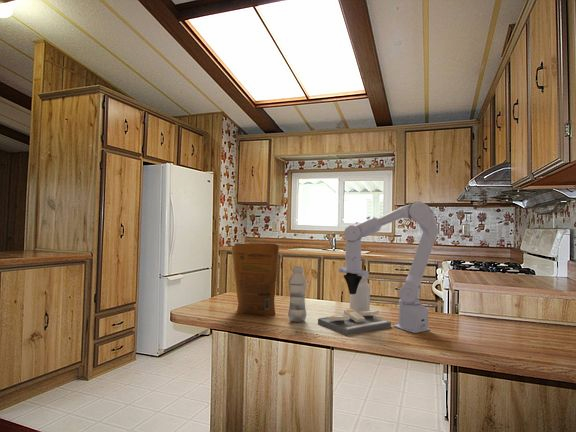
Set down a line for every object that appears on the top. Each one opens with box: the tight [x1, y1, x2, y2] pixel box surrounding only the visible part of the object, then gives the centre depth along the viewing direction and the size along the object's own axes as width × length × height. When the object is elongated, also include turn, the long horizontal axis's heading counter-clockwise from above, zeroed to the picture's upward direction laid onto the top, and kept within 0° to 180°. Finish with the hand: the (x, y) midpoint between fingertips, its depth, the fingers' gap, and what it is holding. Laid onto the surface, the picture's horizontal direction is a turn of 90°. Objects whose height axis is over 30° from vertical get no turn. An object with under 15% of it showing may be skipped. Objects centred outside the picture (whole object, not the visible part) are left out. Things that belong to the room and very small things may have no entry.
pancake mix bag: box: [231, 242, 280, 316], centre depth 147 cm, size 7×19×28 cm, turn 73°
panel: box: [317, 312, 392, 336], centre depth 132 cm, size 16×20×3 cm
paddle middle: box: [343, 308, 365, 323], centre depth 132 cm, size 7×4×1 cm, turn 32°
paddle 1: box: [328, 314, 350, 320], centre depth 128 cm, size 7×4×1 cm, turn 32°
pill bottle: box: [349, 276, 371, 312], centre depth 151 cm, size 8×8×15 cm
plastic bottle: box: [287, 266, 307, 323], centre depth 136 cm, size 6×7×20 cm
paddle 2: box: [358, 310, 380, 316], centre depth 136 cm, size 7×4×1 cm, turn 32°
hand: (352, 293), depth 139 cm, fingers closed
